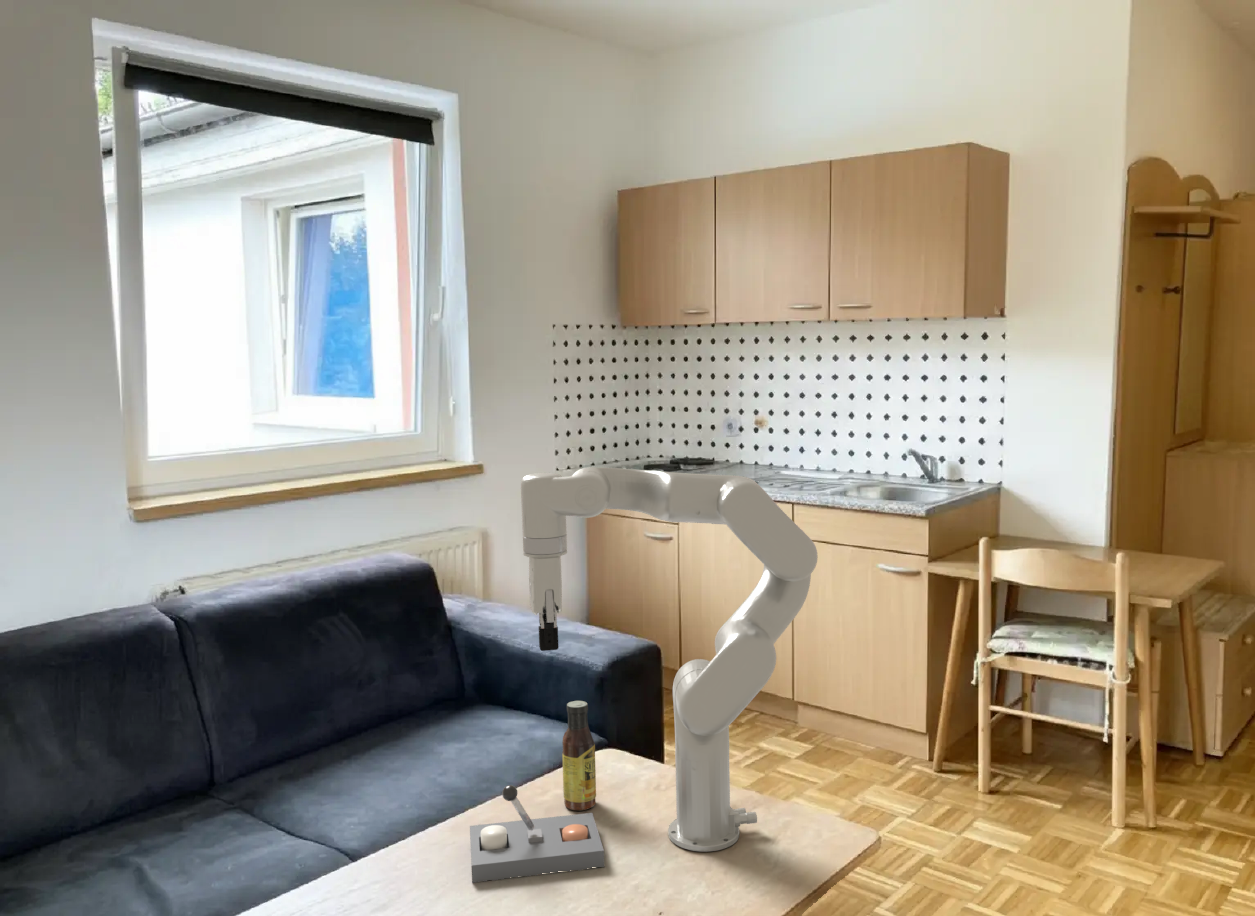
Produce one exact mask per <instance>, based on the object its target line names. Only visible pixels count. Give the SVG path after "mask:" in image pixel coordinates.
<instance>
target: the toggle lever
mask: <svg viewBox="0 0 1255 916" xmlns="http://www.w3.org/2000/svg"><path fill="white" fill-rule="evenodd" d="M501 793H502V794H501V795H502V798H503V799H504V800H505V801H507V802H511V804H512V806H513V807H514V809H515V811H516V812H517V813H518V815H519V817H520V819H521V820H523V821H524V823H525V825H526V826H527V828H528V829H529V830H531V831H532V830H534V828H535V826H534V824H533V822H532V821H531V819H532V818H530V816H529V814H528V813H527V811H526V809H525V807H524V806H523V805H522V803H521V801H520V799H518V789H517V788H516V786H514V785H512V784H509V785H506V786H504V788H503V790H502V792H501Z"/></svg>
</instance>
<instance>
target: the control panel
mask: <svg viewBox="0 0 1255 916" xmlns="http://www.w3.org/2000/svg"><path fill="white" fill-rule="evenodd" d="M530 819H531V821H532V822H533V824H534V826H535V828H534V830H532V831H531V830H529V829H528V828H527V826H526V825H525V823H524V821H523V820H522V819H521V820H514V821H513V820H512V821H504V822H493V823H484V824H475V825H469V836H470V841H469V842H470V858H471V859H470V862H471V863H470V864H471V884H474V883H481V882H480V881H484V882H488V881H487V880H492V881H499V880H498V879H501V880H505V879H504V878H510V877H518V876H527V877H532V876H531V875H535V876H538V875H537V874H542V873H550V872H558V871H569V872H571V871H570V870H578V871H583V870H582V869H587V868H592V867H604V868H605V850H604V847H603V843H602V839H601V837H600V834H599V830H598V826H597V823H596V820H595V816H594V814H593V812H588V813H577V814H568V815H559V816H549V817H541V818H530ZM573 824H580V825H584V826H586V827H587V829H588V839H584V840H575V841H566V842H563V836H562V830H563V828H564V827H566V826H568V825H573ZM492 825H500V826H503V827H505V828H506V830H507V848H503V849H494V850H485V851H481V830H482V829H483V828H485V827H488V826H492ZM587 870H588V869H587ZM518 878H519V877H518ZM510 879H511V878H510Z"/></svg>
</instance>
